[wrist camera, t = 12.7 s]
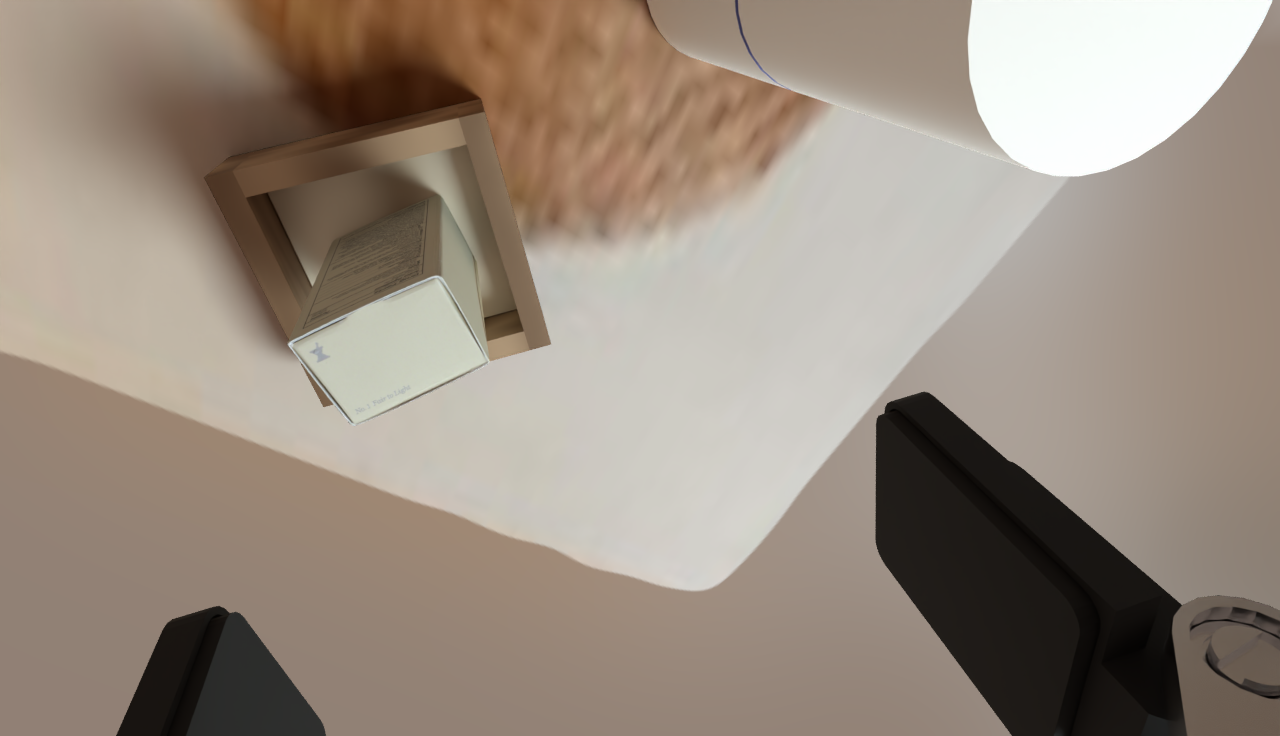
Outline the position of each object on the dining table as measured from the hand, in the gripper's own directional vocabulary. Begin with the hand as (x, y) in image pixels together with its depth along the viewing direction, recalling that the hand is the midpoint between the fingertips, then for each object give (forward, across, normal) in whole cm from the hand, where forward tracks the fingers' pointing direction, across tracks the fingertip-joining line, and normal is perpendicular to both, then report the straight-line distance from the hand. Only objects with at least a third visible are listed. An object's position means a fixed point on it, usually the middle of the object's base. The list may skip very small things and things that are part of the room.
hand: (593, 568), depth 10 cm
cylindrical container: (+31, -13, -5) cm, 34 cm away
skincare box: (+29, +6, +4) cm, 30 cm away
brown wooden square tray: (+30, +6, +4) cm, 31 cm away
